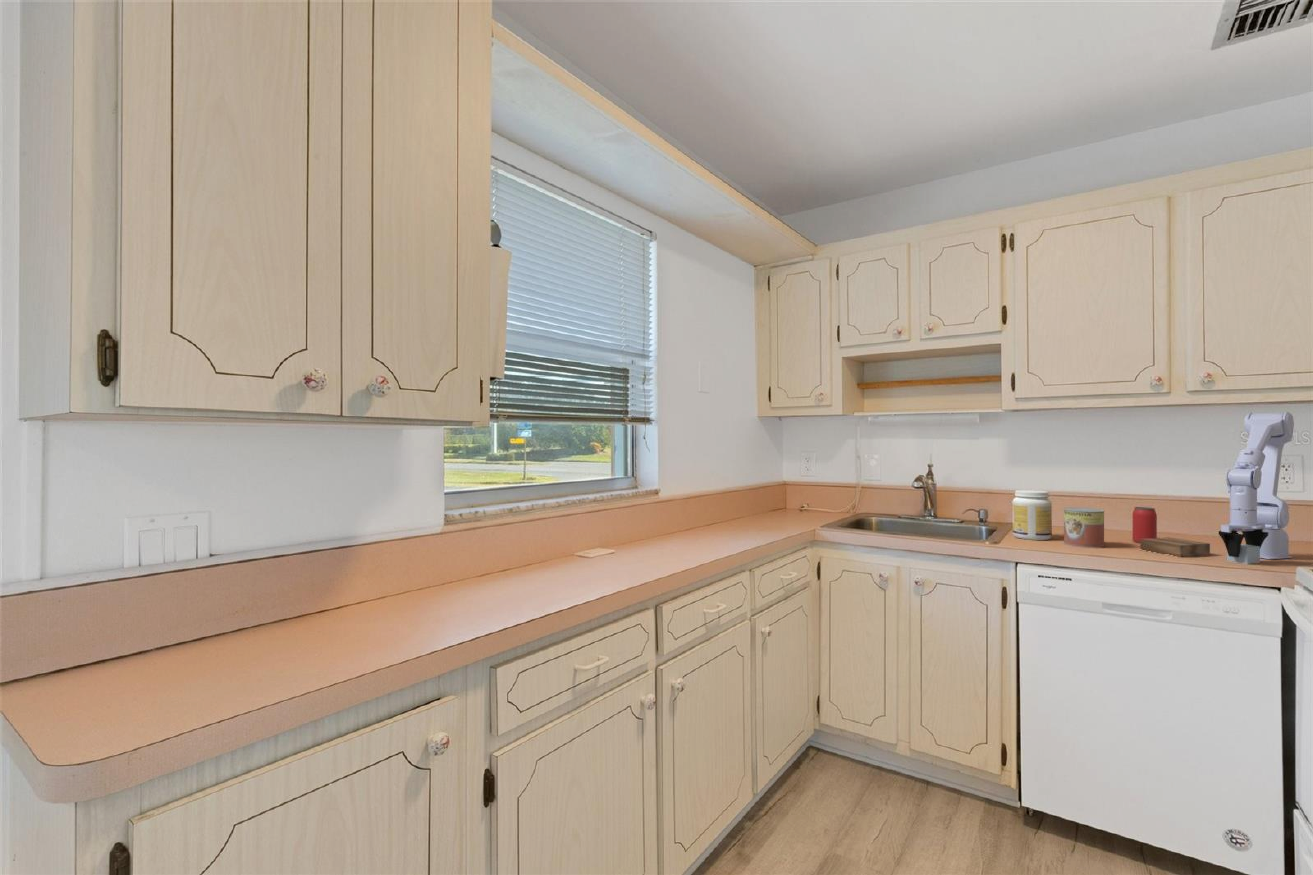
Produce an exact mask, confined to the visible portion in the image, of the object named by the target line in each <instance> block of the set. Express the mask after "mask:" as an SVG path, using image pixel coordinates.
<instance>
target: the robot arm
mask: <svg viewBox="0 0 1313 875" xmlns="http://www.w3.org/2000/svg"><path fill="white" fill-rule="evenodd" d="M1294 427H1295V421H1294V416H1293V414H1292V413H1291V412H1290V411H1284V412H1264V413H1263V412H1262V413H1261V412H1259V413H1258V412H1256V413H1255V412H1254V413H1253V412H1248V413H1247V415H1245V417H1244V429H1245V431H1246V432H1247V434H1248V439H1247V444H1246V448H1244V449H1242V450H1240V451H1239V453H1238V456H1237V459H1236V461H1235V462H1234V463H1235V464H1234V466H1233V468H1231V469H1228V470H1227V472H1226V474H1225V475H1226V477H1225V481H1226V485H1227V492H1228V494H1229V523H1226V524H1221V525H1220V528H1221V529H1220V530H1218V535H1219V537H1220V538H1221V540H1222V541H1223V544H1224V545H1225V549H1226V553H1227V552H1228V555H1229V556H1231V557H1239V554H1240V547H1241V544H1243V543H1242V542H1243V540H1245V544H1246V545H1253V546H1260V559H1267V560H1280V559H1292V558H1293V556H1291V555H1290V554H1289V552H1290V551H1289V550H1290V549H1289V546H1290V544H1289V543H1290V542H1289V541H1290V540H1289V539H1290V538H1289V534H1288V533H1287V531H1286V530H1284V529H1285V527H1287V526H1288V525H1289V522H1290V513H1289V508H1290V507H1289V505H1288V503H1287V502H1286V501H1285V500H1283V499H1282V498H1280V497H1278V496H1277V495H1278V488H1279V481H1280V480H1279V479H1280V471H1281V465H1282V464H1281V463H1282V456H1283V450H1284V446H1285V444H1287V443H1290V442H1291V441H1292V438H1293V437H1294V436H1293V435H1294V430H1295V429H1294ZM1239 532H1241V533H1239Z"/></svg>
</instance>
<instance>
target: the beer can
mask: <svg viewBox="0 0 1313 875" xmlns="http://www.w3.org/2000/svg"><path fill="white" fill-rule="evenodd" d="M1157 518H1158V514H1157V512H1156V510H1155V508H1154V507H1146V506H1145V507H1144V506H1136V507H1134V509H1133V511H1132V541H1133V542H1134V543H1137V544H1140V539H1151V538H1158V534H1157V533H1158V532H1157V531H1158V526H1157V525H1158V520H1157Z"/></svg>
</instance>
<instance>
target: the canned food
mask: <svg viewBox="0 0 1313 875" xmlns="http://www.w3.org/2000/svg"><path fill="white" fill-rule="evenodd" d="M1063 545H1065V546H1070V547H1076V548H1085V549H1102V548H1105V510H1104V509H1099V508H1089V507H1064V508H1063Z"/></svg>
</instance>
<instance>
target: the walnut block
mask: <svg viewBox="0 0 1313 875" xmlns="http://www.w3.org/2000/svg"><path fill="white" fill-rule="evenodd" d="M1139 544H1140V545H1139V548H1140V549H1142V550H1146V551H1145V552H1148V551H1151V552H1150V553H1153V552H1156V553H1155V554H1159V553H1160V554H1161V555H1164V554H1169V555H1168V556H1170V555H1173V556H1172V557H1175V556H1177V558H1190V557H1192V556H1194V557H1201V556H1200V555H1208V556H1211V544H1210V543H1207V542H1201V541H1194V540H1189V539H1183V538H1174V537H1169V536H1168V537H1157V538H1151V539H1140V543H1139ZM1140 549H1139V550H1140ZM1142 550H1141V551H1142Z"/></svg>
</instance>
